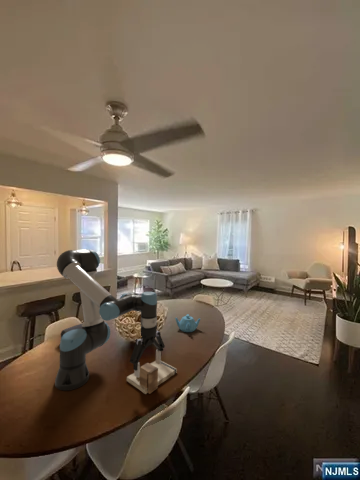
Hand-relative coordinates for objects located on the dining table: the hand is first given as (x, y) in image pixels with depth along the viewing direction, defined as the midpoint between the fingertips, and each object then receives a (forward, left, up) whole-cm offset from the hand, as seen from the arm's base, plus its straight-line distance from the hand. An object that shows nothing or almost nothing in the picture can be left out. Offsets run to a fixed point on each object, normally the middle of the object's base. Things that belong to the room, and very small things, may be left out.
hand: (148, 369), depth 107 cm
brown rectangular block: (0, +2, -8) cm, 8 cm away
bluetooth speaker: (+3, +71, -9) cm, 72 cm away
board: (+7, +4, -9) cm, 12 cm away
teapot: (+67, +27, -9) cm, 73 cm away
